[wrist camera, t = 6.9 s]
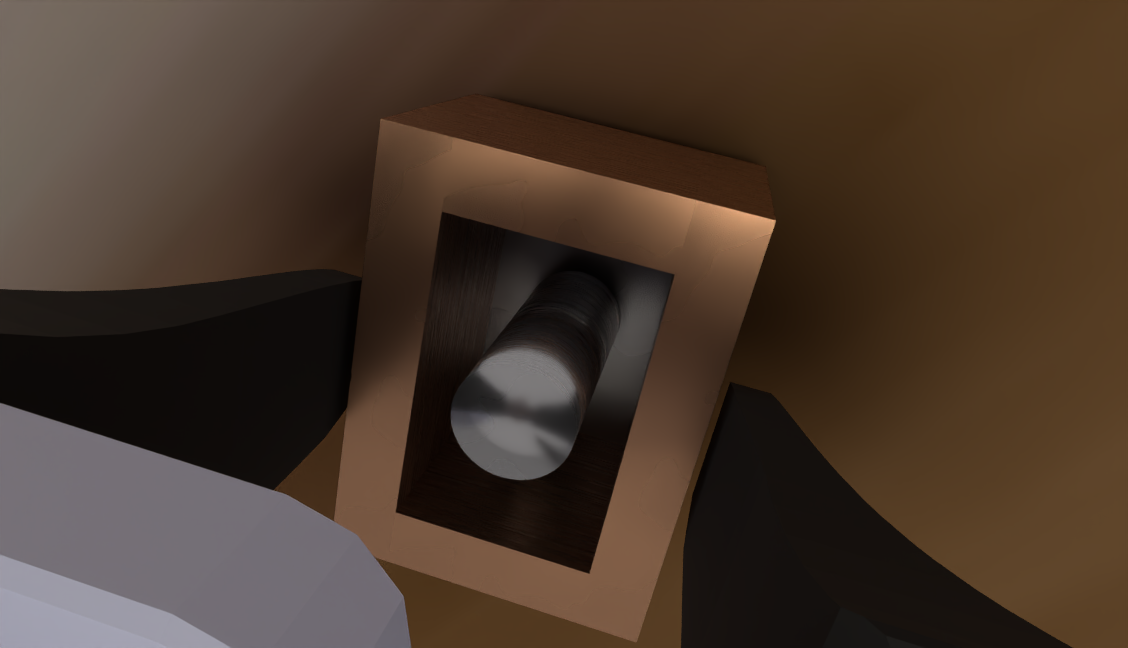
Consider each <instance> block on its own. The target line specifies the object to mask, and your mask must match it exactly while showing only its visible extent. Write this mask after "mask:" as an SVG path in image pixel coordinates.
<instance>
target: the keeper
mask: <svg viewBox="0 0 1128 648" xmlns="http://www.w3.org/2000/svg"><path fill="white" fill-rule="evenodd" d="M672 276H673V274H671V273H668V272H664V271H660V270H657V269H653V268H649V267H645V266H642V265H638V264H634V263H631V262H627V261H623V260H620V259H616V258H612V257H608V256H605V255H601V254H597V253H594V252H590V251H586V250H583V249H579V248H575V247H571V246H568V245H564V244H560V243H557V242H553V241H549V240H546V239H542V238H538V237H534V236H531V235H527V234H523V233H520V232H516V231H512V230H508V229H506V234H505V239H504V244H503V250H502V255H501V260H500V265H499V271H498V276H497V281H496V287H495V292H494V297H493V302H492V308H491V313H490V318H489V324H488V329H487V334H486V339H485V345H484V350H483V355H482V358H481V359H480V360H479V362H478V363H477V364H476V366H475V367H474V368H473V369H472V371H471V372H470V373H469V375H468V376H467V377H466V378H465V380H464V381H463V382H462V384H461V385H460V386H459V388H458V390H457V391H456V393H455V396H454V398H453V401H452V405H451V424H452V429H453V432H454V435H455V437H456V439H457V441H458V443H459V445H460V447H461V448H462V450H463V451H464V452H465V453H466V455H467V456H468V457H469V458H470V459H471V460H472V461H473V462H475V463H476V464H477V465H478V466H480V467H481V468H483V469H484V470H486V471H488V472H490V473H492V474H494V475H497V476H500V477H503V478H507V479H514V480H529V479H535V478H539V477H542V476H544V475H547V474H549V473H551V472H552V471H554V470H555V469H557V468H558V467H559V466H560V465H561V464H562V463H563V462H564V461H565V460H566V458H567V457H568V455H569V453H570V451H571V450H572V447H573V445H574V442H575V439H576V437H577V434H578V432H579V433H583V434H586V435H589V436H593V437H596V438H599V439H603V440H606V441H610V442H613V443H616V444H620V445H623V446H624V445H625V441H626V438H627V434H628V431H629V427H630V424H631V420H632V417H633V413H634V410H635V406H636V403H637V399H638V396H639V392H640V389H641V385H642V382H643V378H644V375H645V371H646V368H647V364H648V361H649V357H650V354H651V350H652V347H653V343H654V340H655V336H656V332H657V329H658V325H659V322H660V318H661V315H662V311H663V308H664V304H665V301H666V297H667V294H668V290H669V287H670V283H671V280H672Z"/></svg>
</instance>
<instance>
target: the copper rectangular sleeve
mask: <svg viewBox="0 0 1128 648" xmlns="http://www.w3.org/2000/svg"><path fill="white" fill-rule="evenodd" d="M775 222H776V218H775V213H774V208H773V203H772V198H771V192H770V187H769V182H768V177H767V172H766V167H765V166H761V165H757V164H753V163H749V162H745V161H742V160H738V159H734V158H730V157H726V156H722V155H718V154H714V153H710V152H706V151H702V150H698V149H694V148H690V147H686V146H682V145H678V144H674V143H670V142H666V141H662V140H658V139H654V138H650V137H646V136H642V135H638V134H634V133H630V132H626V131H622V130H618V129H614V128H610V127H606V126H602V125H598V124H594V123H590V122H586V121H582V120H578V119H574V118H570V117H566V116H562V115H558V114H554V113H550V112H546V111H542V110H538V109H534V108H530V107H526V106H522V105H518V104H514V103H510V102H506V101H503V100H499V99H495V98H491V97H487V96H483V95H479V94H473V95H469V96H465V97H461V98H457V99H454V100H450V101H446V102H442V103H438V104H434V105H431V106H427V107H423V108H419V109H415V110H411V111H408V112H404V113H400V114H396V115H392V116H388V117H385V118H381V121H380V129H379V138H378V146H377V155H376V164H375V172H374V181H373V189H372V198H371V207H370V215H369V224H368V232H367V241H366V250H365V258H364V267H363V276H362V284H361V293H360V301H359V310H358V319H357V327H356V336H355V344H354V353H353V362H352V370H351V379H350V387H349V396H348V405H347V413H346V422H345V431H344V439H343V448H342V456H341V465H340V474H339V482H338V491H337V499H336V508H335V517H334V522H336V523H337V524H339V525H341V526H343V527H344V528H346V529H348V530H350V531H351V532H353V533H355V534H357V535H358V537H359V538H360V539H361V540H362V542H363V543H364V544H365V546H366V547H367V548H368V550H369V551H370V552H371V554H372V555H373V556H374V557H376V558H379V559H382V560H385V561H388V562H391V563H394V564H397V565H400V566H403V567H406V568H409V569H413V570H416V571H419V572H422V573H425V574H428V575H431V576H434V577H437V578H440V579H443V580H446V581H449V582H452V583H456V584H459V585H462V586H465V587H468V588H471V589H474V590H477V591H480V592H483V593H486V594H489V595H492V596H495V597H499V598H502V599H505V600H508V601H511V602H514V603H517V604H520V605H523V606H526V607H529V608H532V609H535V610H538V611H542V612H545V613H548V614H551V615H554V616H557V617H560V618H563V619H566V620H569V621H572V622H575V623H578V624H581V625H585V626H588V627H591V628H594V629H597V630H600V631H603V632H606V633H609V634H612V635H615V636H618V637H621V638H624V639H628V640H631V641H634V642H637V639H638V636H639V633H640V630H641V627H642V624H643V621H644V618H645V615H646V612H647V609H648V606H649V603H650V600H651V597H652V594H653V591H654V588H655V585H656V582H657V579H658V576H659V573H660V570H661V567H662V564H663V561H664V558H665V555H666V552H667V548H668V545H669V542H670V539H671V536H672V533H673V530H674V527H675V524H676V521H677V518H678V515H679V512H680V509H681V506H682V503H683V500H684V497H685V494H686V491H687V488H688V485H689V482H690V479H691V476H692V473H693V470H694V467H695V464H696V461H697V458H698V455H699V452H700V449H701V446H702V443H703V440H704V437H705V434H706V431H707V428H708V425H709V421H710V418H711V415H712V412H713V409H714V406H715V403H716V400H717V397H718V394H719V391H720V388H721V385H722V382H723V379H724V376H725V373H726V370H727V367H728V364H729V361H730V358H731V355H732V352H733V349H734V346H735V343H736V340H737V337H738V334H739V331H740V328H741V325H742V322H743V319H744V316H745V313H746V310H747V307H748V304H749V301H750V298H751V294H752V291H753V288H754V285H755V282H756V279H757V276H758V273H759V270H760V267H761V264H762V261H763V258H764V255H765V252H766V249H767V246H768V243H769V240H770V237H771V234H772V231H773V228H774V225H775ZM506 229H508V230H512V231H516V232H520V233H523V234H527V235H531V236H534V237H538V238H542V239H546V240H549V241H553V242H557V243H560V244H564V245H568V246H571V247H575V248H579V249H583V250H586V251H590V252H594V253H597V254H601V255H605V256H608V257H612V258H616V259H620V260H623V261H627V262H631V263H634V264H638V265H642V266H645V267H649V268H653V269H657V270H660V271H664V272H668V273H671V274H673V276H672V280H671V283H670V287H669V290H668V294H667V297H666V301H665V304H664V308H663V311H662V315H661V318H660V322H659V325H658V329H657V332H656V336H655V340H654V343H653V347H652V350H651V354H650V357H649V361H648V364H647V368H646V371H645V375H644V378H643V382H642V385H641V389H640V392H639V396H638V399H637V403H636V406H635V410H634V413H633V417H632V420H631V424H630V427H629V431H628V434H627V438H626V441H625V445H624V446H623V445H620V444H616V443H613V442H610V441H606V440H603V439H599V438H596V437H593V436H589V435H586V434H583V433H579V432H578V434H577V437H576V439H575V442H574V445H573V447H572V450H571V451H570V453H569V455H568V457H567V458H566V460H565V461H564V462H563V463H562V464H561V465H560V466H559V467H558V468H557V469H555V470H554V471H552V472H551V473H549V474H547V475H544V476H542V477H539V478H535V479H529V480H514V479H507V478H503V477H500V476H497V475H494V474H492V473H490V472H488V471H486V470H484V469H483V468H481V467H480V466H478V465H477V464H476V463H475V462H473V461H472V460H471V459H470V458H469V457H468V456H467V455H466V453H465V452H464V451H463V450H462V448H461V447H460V445H459V443H458V441H457V439H456V437H455V435H454V432H453V429H452V424H451V405H452V401H453V398H454V396H455V393H456V391H457V390H458V388H459V386H460V385H461V384H462V382H463V381H464V380H465V378H466V377H467V376H468V375H469V373H470V372H471V371H472V369H473V368H474V367H475V366H476V364H477V363H478V362H479V360H480V359H481V358H482V355H483V350H484V345H485V339H486V334H487V329H488V324H489V318H490V313H491V308H492V302H493V297H494V292H495V287H496V281H497V276H498V271H499V265H500V260H501V255H502V250H503V244H504V239H505V234H506Z"/></svg>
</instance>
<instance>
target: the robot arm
mask: <svg viewBox="0 0 1128 648" xmlns="http://www.w3.org/2000/svg"><path fill="white" fill-rule="evenodd" d="M361 284H362V278H361V277H358V276H354V275H351V274H347V273H344V272H340V271H337V270H327V269H316V270H303V271H293V272H285V273H277V274H270V275H262V276H255V277H248V278H240V279H233V280H226V281H218V282H208V283H199V284H190V285H180V286H171V287H162V288H150V289H135V290H114V291H36V290H6V289H0V648H411V643H410V637H409V630H408V623H407V616H406V609H405V602H404V596H403V595H402V594H401V592H400V591H399V590H398V588H397V587H396V586H395V584H394V583H393V582H392V580H391V579H390V578H389V576H388V575H387V574H386V572H385V571H384V570H383V568H382V567H381V566H380V564H379V563H378V562H377V560H376V559H375V558H374V556H373V555H372V554H371V552H370V551H369V550H368V548H367V547H366V546H365V544H364V543H363V542H362V540H361V539H360V538H359V537H358V535H357V534H355V533H353V532H351V531H350V530H348V529H346V528H344V527H343V526H341V525H339V524H337V523H336V522H334V521H332V520H330V519H328V518H327V517H325V516H323V515H321V514H320V513H318V512H316V511H314V510H313V509H311V508H309V507H307V506H306V505H304V504H302V503H300V502H299V501H297V500H295V499H293V498H292V497H290V496H288V495H286V494H283V493H280V492H277V491H273V490H274V489H275V488H276V487H277V486H278V485H279V484H280V483H281V482H282V481H283V480H284V479H285V478H286V477H287V476H288V475H289V474H290V473H291V472H292V471H293V470H294V469H295V468H296V467H297V466H298V465H299V464H300V463H301V462H302V461H303V460H304V459H305V458H306V457H307V456H308V454H309V453H310V452H311V451H312V450H313V449H314V448H315V447H316V446H317V445H318V444H319V443H320V442H321V441H322V440H323V439H324V438H325V437H326V435H327V434H328V433H329V431H330V430H331V429H332V427H333V426H334V425H335V423H336V422H337V421H338V419H339V418H340V416H341V415H342V414H343V412H344V411H345V409H346V408H347V405H348V396H349V387H350V379H351V370H352V362H353V353H354V344H355V336H356V327H357V319H358V310H359V301H360V293H361ZM681 648H1072V647H1070V646H1069V645H1067V644H1065V643H1063V642H1061V641H1060V640H1058V639H1056V638H1054V637H1053V636H1051V635H1049V634H1048V633H1046V632H1044V631H1042V630H1041V629H1039V628H1037V627H1036V626H1034V625H1032V624H1031V623H1029V622H1027V621H1025V620H1024V619H1022V618H1020V617H1019V616H1017V615H1015V614H1014V613H1012V612H1010V611H1009V610H1007V609H1005V608H1004V607H1002V606H1001V605H999V604H998V603H996V602H994V601H993V600H991V599H990V598H988V597H987V596H985V595H984V594H982V593H980V592H979V591H977V590H976V589H974V588H973V587H971V586H970V585H969V584H967V583H966V582H964V581H963V580H962V579H960V578H959V577H957V576H956V575H955V574H953V573H952V572H950V571H949V570H948V569H946V568H945V567H943V566H942V565H941V564H939V563H938V562H936V561H935V560H934V559H932V558H931V557H930V556H928V555H927V554H926V553H925V552H923V551H922V550H921V549H919V548H918V547H917V546H916V545H914V544H913V543H912V542H911V541H909V540H908V539H907V538H906V537H905V536H904V535H902V534H901V533H900V532H899V531H898V530H897V529H895V528H894V527H893V526H892V525H891V524H890V523H888V522H887V521H886V520H885V519H884V518H883V517H881V516H880V515H879V514H878V513H877V512H876V511H875V510H874V509H873V508H872V507H871V506H870V505H869V504H867V503H866V502H865V501H864V500H863V499H862V498H861V497H860V496H859V494H858V493H857V492H856V491H855V490H854V489H853V488H852V487H851V486H850V485H849V484H848V483H847V482H846V481H845V480H844V479H843V478H842V477H841V476H840V475H839V474H838V473H837V471H836V470H835V469H834V468H833V467H832V466H831V465H830V464H829V462H828V461H827V460H826V459H825V458H824V457H823V455H822V454H821V453H820V452H819V451H818V450H817V448H816V447H815V446H814V445H813V444H812V442H811V441H810V440H809V439H808V437H807V436H806V435H805V434H804V432H803V431H802V430H801V429H800V427H799V426H798V425H797V424H796V422H795V421H794V420H793V419H792V417H791V416H790V415H789V414H788V412H787V411H786V410H785V409H784V407H783V406H782V405H781V404H780V402H779V401H778V400H777V399H776V398H775V397H774V396H773V395H772V394H771V393H767V392H764V391H760V390H757V389H753V388H750V387H746V386H743V385H739V384H735V383H732V382H730V384H729V387H728V390H727V393H726V396H725V399H724V402H723V405H722V408H721V411H720V414H719V417H718V420H717V423H716V426H715V429H714V432H713V435H712V438H711V441H710V444H709V447H708V450H707V453H706V456H705V459H704V462H703V465H702V468H701V471H700V474H699V477H698V480H697V483H696V486H695V489H694V492H693V495H692V501H691V507H690V513H689V518H688V524H687V530H686V537H685V543H684V554H683V588H682V633H681Z"/></svg>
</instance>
